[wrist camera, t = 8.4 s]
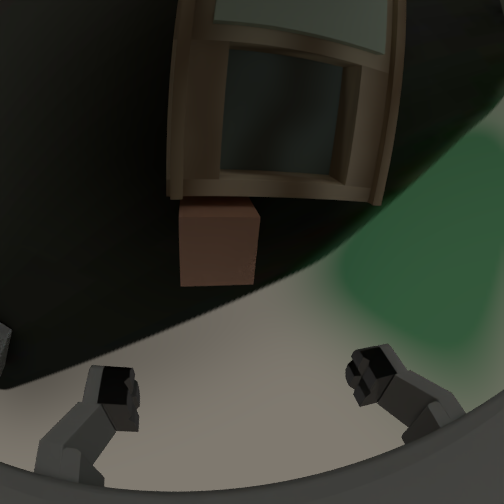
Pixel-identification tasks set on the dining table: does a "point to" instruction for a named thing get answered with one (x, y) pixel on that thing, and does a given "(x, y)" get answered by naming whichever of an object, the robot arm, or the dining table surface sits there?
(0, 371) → the supplement box
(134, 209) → the dining table surface
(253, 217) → the cube
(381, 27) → the cover
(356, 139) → the wooden box
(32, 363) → the dining table surface
